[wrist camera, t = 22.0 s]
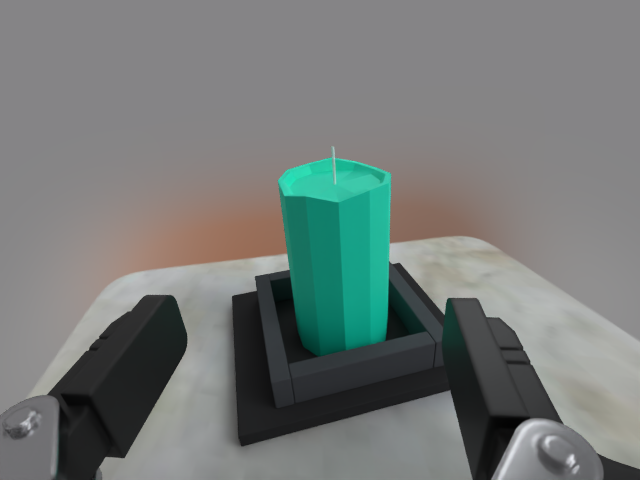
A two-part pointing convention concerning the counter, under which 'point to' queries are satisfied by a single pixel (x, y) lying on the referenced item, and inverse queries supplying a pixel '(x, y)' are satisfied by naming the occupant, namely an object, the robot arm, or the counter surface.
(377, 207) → the candle
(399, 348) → the dark grey square holder
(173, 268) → the counter surface
